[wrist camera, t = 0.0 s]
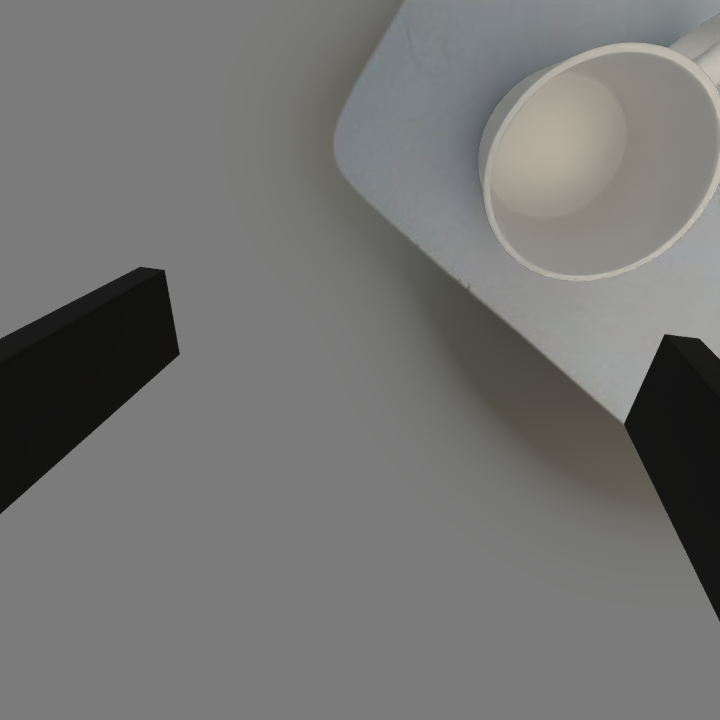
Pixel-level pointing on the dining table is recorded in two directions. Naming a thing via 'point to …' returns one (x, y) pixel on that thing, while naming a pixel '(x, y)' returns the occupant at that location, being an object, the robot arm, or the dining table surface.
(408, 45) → the dining table surface
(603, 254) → the cup
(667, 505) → the robot arm
